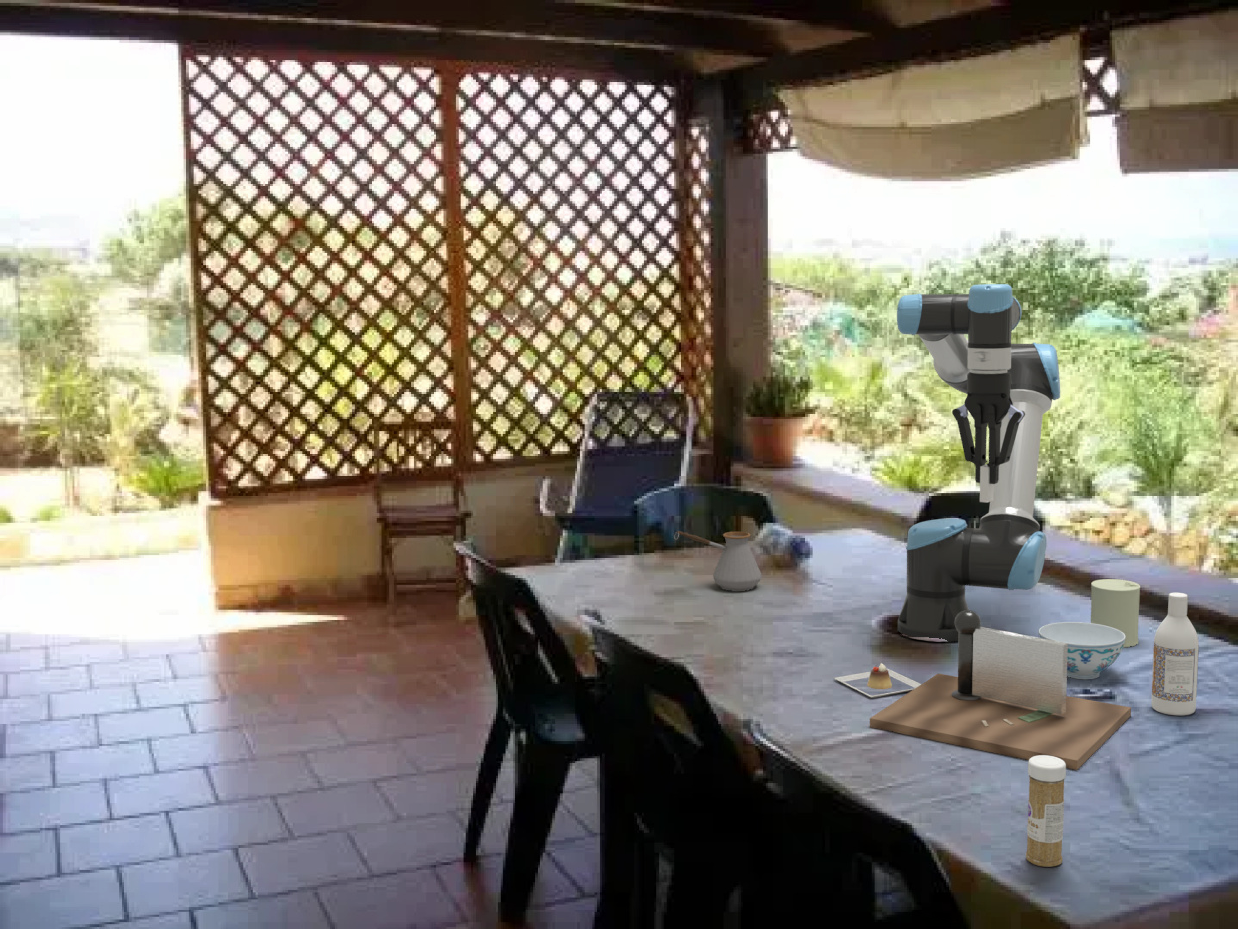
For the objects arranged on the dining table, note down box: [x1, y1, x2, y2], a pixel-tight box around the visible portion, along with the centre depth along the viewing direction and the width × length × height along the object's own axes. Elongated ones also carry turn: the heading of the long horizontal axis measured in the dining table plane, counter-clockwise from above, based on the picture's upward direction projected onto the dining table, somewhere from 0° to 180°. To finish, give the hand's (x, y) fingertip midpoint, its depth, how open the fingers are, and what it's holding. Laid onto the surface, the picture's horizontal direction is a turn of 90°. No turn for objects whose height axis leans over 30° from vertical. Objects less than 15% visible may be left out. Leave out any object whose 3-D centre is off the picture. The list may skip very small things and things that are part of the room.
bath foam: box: [1150, 592, 1200, 716], centre depth 221 cm, size 7×7×20 cm
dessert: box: [833, 662, 922, 699], centre depth 239 cm, size 12×12×5 cm
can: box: [1090, 578, 1141, 648], centre depth 261 cm, size 9×9×12 cm
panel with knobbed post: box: [954, 609, 1068, 715], centre depth 221 cm, size 20×4×14 cm, turn 47°
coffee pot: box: [673, 530, 762, 592], centre depth 309 cm, size 21×12×15 cm, turn 109°
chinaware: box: [1038, 621, 1125, 680], centre depth 242 cm, size 15×15×8 cm
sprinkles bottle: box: [1025, 755, 1067, 868], centre depth 168 cm, size 5×5×13 cm
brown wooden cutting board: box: [869, 673, 1132, 771], centre depth 219 cm, size 34×28×2 cm
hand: (986, 500), depth 239 cm, fingers closed
